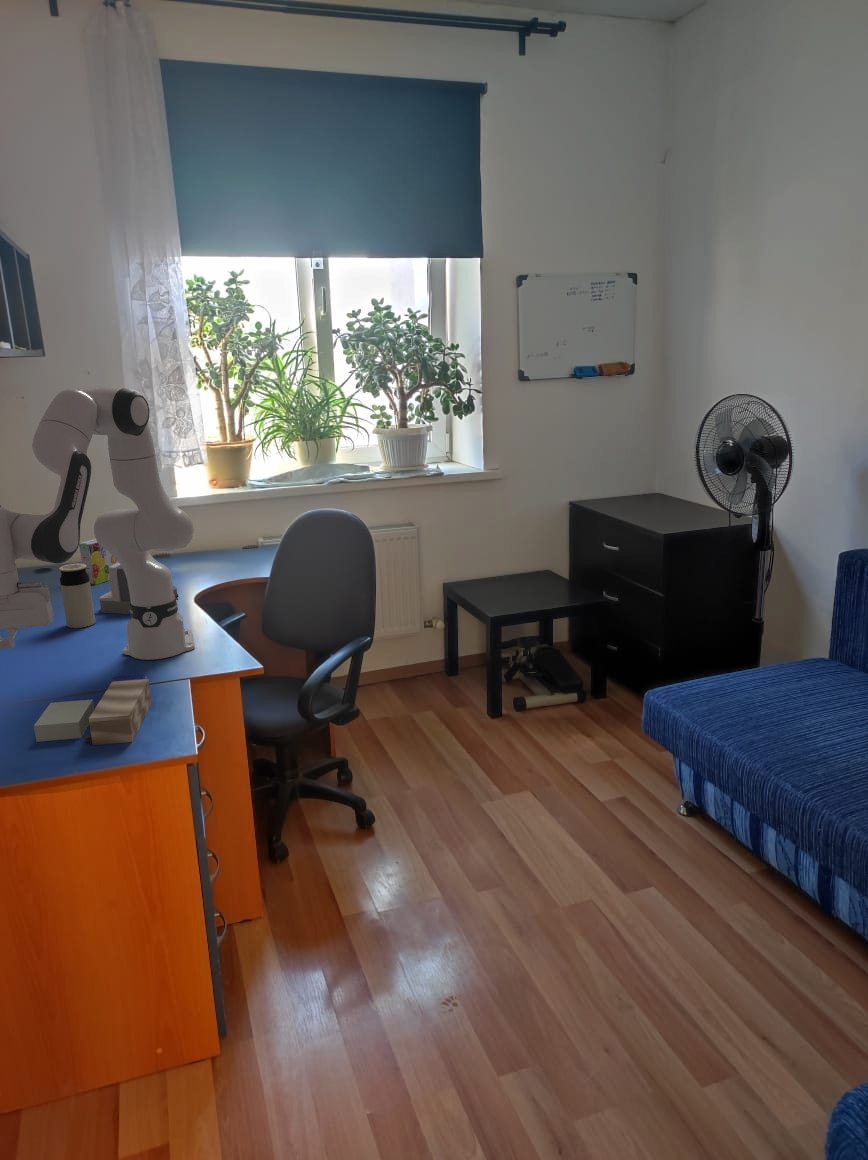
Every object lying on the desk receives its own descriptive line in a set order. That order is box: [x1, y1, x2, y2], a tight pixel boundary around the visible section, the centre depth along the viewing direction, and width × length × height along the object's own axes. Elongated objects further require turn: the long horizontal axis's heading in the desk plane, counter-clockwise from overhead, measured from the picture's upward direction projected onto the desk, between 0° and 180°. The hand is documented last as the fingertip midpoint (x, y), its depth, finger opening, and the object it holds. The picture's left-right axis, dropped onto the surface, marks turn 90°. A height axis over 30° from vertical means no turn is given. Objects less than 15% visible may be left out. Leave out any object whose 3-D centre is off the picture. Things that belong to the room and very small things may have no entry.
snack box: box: [78, 538, 118, 586], centre depth 305 cm, size 21×6×15 cm, turn 154°
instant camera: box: [99, 562, 179, 614], centre depth 271 cm, size 21×21×15 cm
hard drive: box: [107, 673, 147, 689], centre depth 205 cm, size 2×8×12 cm
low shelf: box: [85, 678, 152, 746], centre depth 184 cm, size 20×10×6 cm, turn 7°
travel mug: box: [58, 563, 96, 629], centre depth 251 cm, size 8×8×18 cm
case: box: [33, 699, 95, 743], centre depth 183 cm, size 12×9×4 cm
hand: (6, 647), depth 178 cm, fingers closed
